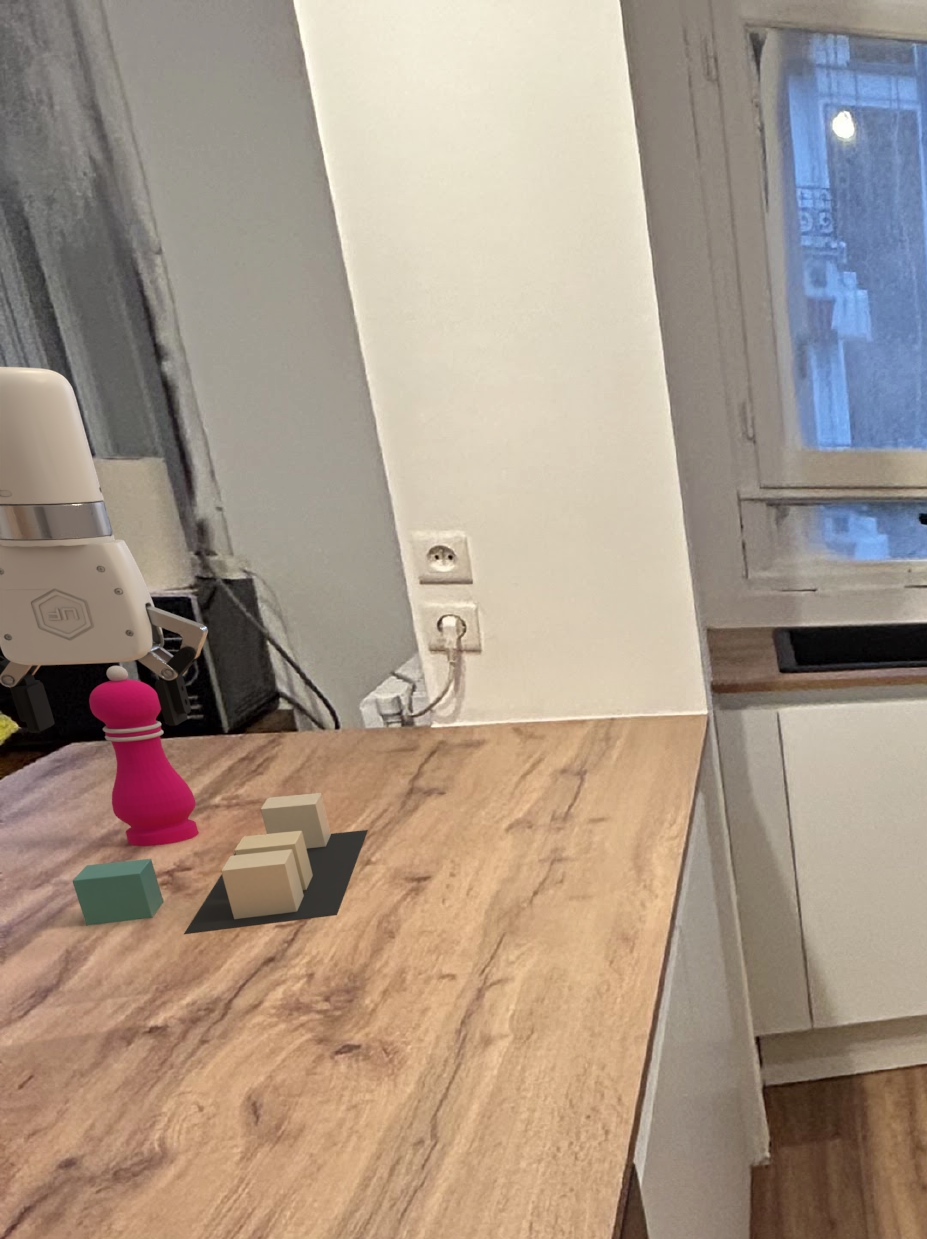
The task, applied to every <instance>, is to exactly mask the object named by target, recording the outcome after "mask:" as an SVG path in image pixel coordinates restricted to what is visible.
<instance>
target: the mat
mask: <svg viewBox="0 0 927 1239" xmlns="http://www.w3.org/2000/svg"><path fill="white" fill-rule="evenodd" d="M368 831H369V829H362V830H354V831H344V832H333V833H331V836H330V838H329V840H328V843H327V845H326V847H317V848H308V849H306V850H307V854H308V858H309V862H310V866H311V870H312V874H313V876H312V878H311V881H310V883H309V885H308V887H307V890H302V891H303V895H304V897H303V899H302V901H301V903H300V906H299V908H298V910H297V912H291V913H282V914H274V915H266V916H258V917H250V918H242V919H234V916H233V913H232V909H231V905H230V902H229V898H228V894H227V891H226V887H225V883H224V880H223V876H222V873H221V874H220V876H219V877H218V879H217V880H216V883H215V884H214V885H213V886H212V888H211V890H210V892H209V894H208V895H207V897H206V898H205V900H204V901H203V903H202V904H201V906H200V907H199V909H198V910H197V912H196V914H195V916H194V917H193V918H192V920H191V922H190V923H189V924H188V926H187V928H186V929H185V931H184V933H183V935H191V934H198V933H206V932H214V931H221V930H229V929H230V930H231V929H237V928H246V927H255V926H263V925H269V924H279V923H285V922H294V921H301V920H310V919H318V918H326V917H332V916H338V913H339V911H340V908H341V905H342V903H343V900H344V897H345V895H346V893H347V892H346V891H347V889H348V886H349V883H350V880H351V878H352V875H353V873H354V869H355V866H356V864H357V861H358V858H359V856H360V854H361V851H362V848H363V845H364V842H365V839H366V837H367V834H368ZM234 855H235V853H234V854H233V855H232V856H234Z"/></svg>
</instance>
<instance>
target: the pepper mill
mask: <svg viewBox="0 0 927 1239" xmlns="http://www.w3.org/2000/svg"><path fill="white" fill-rule="evenodd" d="M106 676H107V678H108V679H109V681H106V682H102V683H101V684H99V685H97V686H96V687H94V689H93V690H92V691H91V693H90V694H89V701H88V704H89V709H90V711H91V714H93V716H94V717H95V718H97V719H98V720H99V721H101V722H103V723H104V724H105V725H104V727H103V728H102V731H103V732H104V735H105V736H104V738H105V740H106V741H108V742H109V741H110V742H111V744H112V747H113V750H114V754H115V760H116V774H115V779H114V783H113V787H112V791H111V806H112V812H113V814H114V816H115V817H116V818H117V819H118V820H120V821H122V822H123V823H125V824H127V825H128V826H130V827H129V828H127V829H126V831H125V835H126V839H127V842H128V845H131V846H135V847H154V846H155V847H156V846H163V845H171V844H175V843H180V842H185V841H187V840H190V839H193V838H195V837H196V836H197V837H198V835H199V830H198V826H197V822H196V821H195V820H193V819H189V817H190V815H191V814H192V812H193V811H194V810H195V808H196V805H197V803H196V798H195V795H194V793H193V791H192V790H191V788H190V787H189V785H188V783H187V782H186V781H185V780H184V779H183V778H182V776H181V775H180V774H179V773H178V772H177V771H176V769H175V768H174V767H173V766H172V764H171V763H170V761H169V759H168V757H167V756H166V753H165V751H164V748H163V745H162V740H161V739H162V738H161V736H162V735H163V734H164V730H163V729H162V723H161V721H160V720H159V721H158V720H157V718H158V716H159V714H160V713H161V711H162V710H161V706H160V703H159V699H158V696H157V692H156V689H155V688H153V687H151V685H150V684H147V683H145V682H143V681H140V680H136V679H130V678H129V673H128V670H127V669H126V668H124V667H123V666H121V665H112V666H110V667H108V668H107V670H106ZM128 678H129V679H128Z"/></svg>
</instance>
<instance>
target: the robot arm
mask: <svg viewBox="0 0 927 1239" xmlns="http://www.w3.org/2000/svg"><path fill="white" fill-rule="evenodd" d="M163 629H165V630H167V631H170V632H173V633H174V634H178V635H180V637H181V640H182V641H181V644H180V648H179V649H178V650H177V651H176V653H174V654H172V653H170V652H169V651H168V650H166V649H165V648H164V645H165V641H164V640H165V639H164V633H163ZM208 633H209V629H208V627H207V626H206V625H205V624H202V623H199V622H197V621H194V620H191V619H188V618H186V617H182V616H180V615H177V614H175V613H171V612H169V611H166V610H163V609H161V608H158V607H155V604H154V601H153V599H152V596H151V593H150V591H149V588H148V586H147V583H146V581H145V579H144V576H143V574H142V572H141V570H140V568H139V566H138V564H137V561H136V560H135V558H134V555H133V554H132V552H131V550H130V548H129V547H128V545H127V543H126V541H125V540H124V539H115V535H114V531H113V527H112V524H111V521H110V517H109V513H108V510H107V506H106V503H105V498H104V494H103V490H102V488H101V484H100V481H99V477H98V473H97V470H96V467H95V463H94V458H93V455H92V452H91V449H90V445H89V441H88V438H87V434H86V431H85V426H84V423H83V418H82V416H81V410H80V408H79V405H78V401H77V397H76V394H75V392H74V389H73V386H72V385H71V383H70V382H69V380H68V379H67V378H66V377H65V376H64V375H62V374H61V373H59V372H57V371H55V370H51V369H47V368H39V367H24V366H23V367H20V366H0V650H1V652H2V654H3V656H2V655H0V684H1V685H2V686H4V687H6V688H9V691H10V692H11V696H12V700H13V703H14V706H15V709H16V712H17V716H18V718H19V720H20V721H21V722H23V723H25V724H26V727H27V730H28V732H29V733H30V734H34V733H41V732H43V731H45V730H46V729H49V728H51V727H52V726H54V725H55V718H54V716H53V711H52V709H51V706H50V702H49V699H48V696H47V692H46V690H45V686H44V683H43V682H41V680H40V679H38V680H37V679H35V674H36V673H37V671H38V670H39V669H40V667H41V666H56V665H57V666H59V665H60V666H61V665H62V666H63V665H87V664H88V665H89V664H110V663H112V664H113V663H126V662H127V663H128V662H133V661H138V662H139V663H140V664H142V665H143V666H145V667H146V668H148V669H149V670H150V671H151V672H153V673H154V674H156V675H157V676H158V680H156V681H155V682H154V689H155V691H156V693H157V696H158V699H159V703H160V706H161V710H160V711H161V714H162V717H163V720H164V724H165V725H168V726H171V727H173V726H178V725H180V724H181V723H184V722H185V721H187V720H188V714H190V713H191V711H192V707H191V702H190V699H189V695H188V691H187V687H186V684H185V679H184V676H183V675H185V674H186V673H187V672H188V670H189V668H191V666H192V665H193V664H194V663H195V662H196V661H197V660H198V659H199V658H200V656H201V654H202V652H201V651H202V649H203V647H204V645H205V641H206V638H207V635H208Z"/></svg>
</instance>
